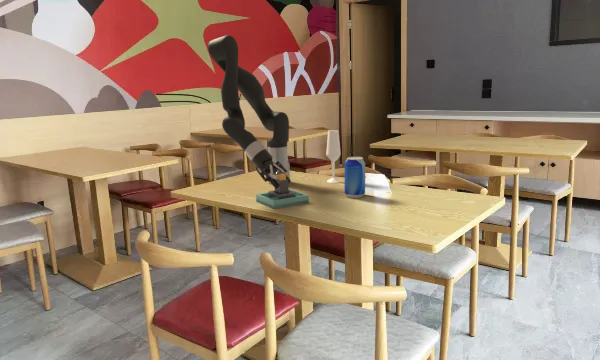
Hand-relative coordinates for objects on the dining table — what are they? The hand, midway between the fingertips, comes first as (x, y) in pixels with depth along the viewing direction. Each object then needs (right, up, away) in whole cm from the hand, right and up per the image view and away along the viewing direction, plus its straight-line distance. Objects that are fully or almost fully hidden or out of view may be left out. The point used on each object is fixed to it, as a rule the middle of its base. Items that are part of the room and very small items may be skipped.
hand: (283, 185), depth 194 cm
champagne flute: (+22, +1, +37) cm, 43 cm away
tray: (-1, -7, +2) cm, 7 cm away
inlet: (-1, -6, +2) cm, 6 cm away
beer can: (+29, -5, +9) cm, 31 cm away
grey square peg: (-1, -6, +2) cm, 6 cm away
